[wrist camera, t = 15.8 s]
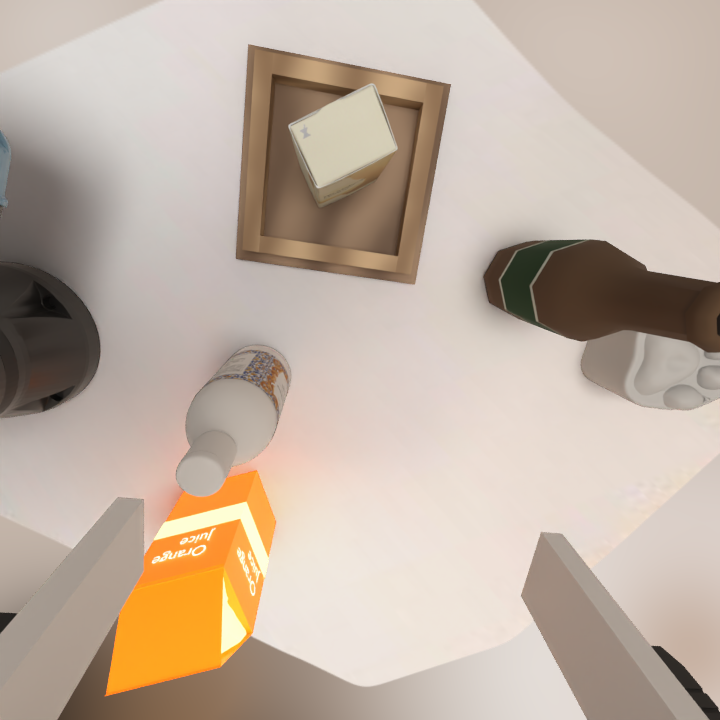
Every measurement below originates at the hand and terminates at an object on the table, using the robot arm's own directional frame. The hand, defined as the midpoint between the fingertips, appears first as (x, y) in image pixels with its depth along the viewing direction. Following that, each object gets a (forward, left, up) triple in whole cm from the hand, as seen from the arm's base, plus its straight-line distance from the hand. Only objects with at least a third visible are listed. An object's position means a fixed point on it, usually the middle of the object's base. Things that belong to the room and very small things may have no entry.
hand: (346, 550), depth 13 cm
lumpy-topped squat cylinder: (+34, +4, -31) cm, 46 cm away
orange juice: (-10, -22, -31) cm, 39 cm away
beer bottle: (+18, +9, -31) cm, 37 cm away
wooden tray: (-2, +16, -31) cm, 35 cm away
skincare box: (-2, +16, -30) cm, 34 cm away
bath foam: (-8, -5, -31) cm, 32 cm away
